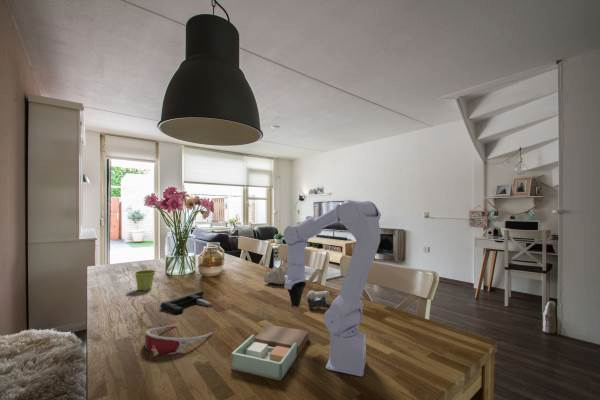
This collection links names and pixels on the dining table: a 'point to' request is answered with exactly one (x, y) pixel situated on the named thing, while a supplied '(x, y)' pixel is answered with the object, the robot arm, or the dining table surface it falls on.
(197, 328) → the dining table surface
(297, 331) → the walnut plate
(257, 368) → the green bin
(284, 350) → the terracotta tile
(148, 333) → the sunglasses
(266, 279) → the seashell
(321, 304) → the clip-on lamp
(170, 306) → the door handle
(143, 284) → the plant pot
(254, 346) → the white tile
